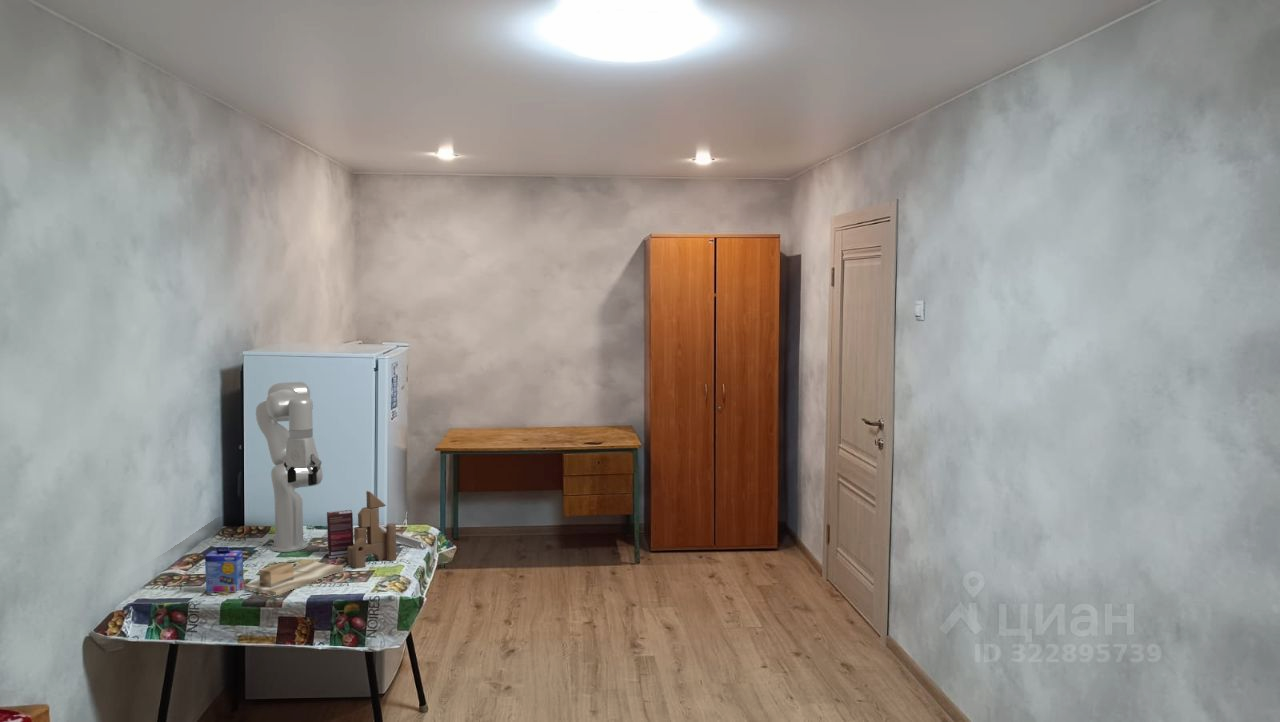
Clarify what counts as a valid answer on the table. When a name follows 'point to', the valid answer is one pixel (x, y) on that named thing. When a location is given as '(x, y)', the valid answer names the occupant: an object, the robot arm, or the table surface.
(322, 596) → the table surface
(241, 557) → the ink cartridge box
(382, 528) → the wrench
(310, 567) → the board
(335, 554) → the supplement box
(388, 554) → the wooden toy
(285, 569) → the block
